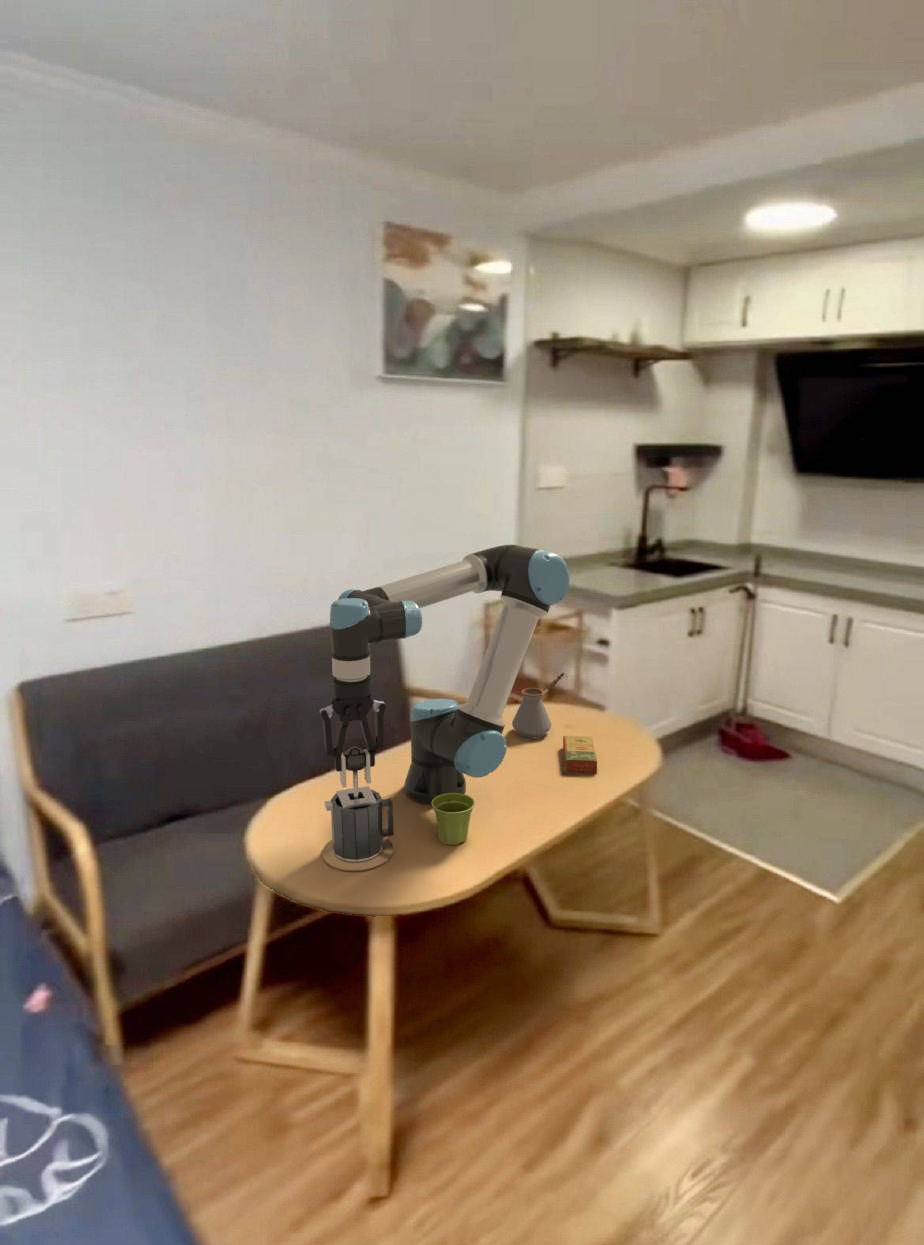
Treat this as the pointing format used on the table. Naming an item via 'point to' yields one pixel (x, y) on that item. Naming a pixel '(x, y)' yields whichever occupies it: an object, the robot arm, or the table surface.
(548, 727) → the coffee pot
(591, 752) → the carton
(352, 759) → the plunger
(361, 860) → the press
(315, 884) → the table surface
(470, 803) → the plant pot
